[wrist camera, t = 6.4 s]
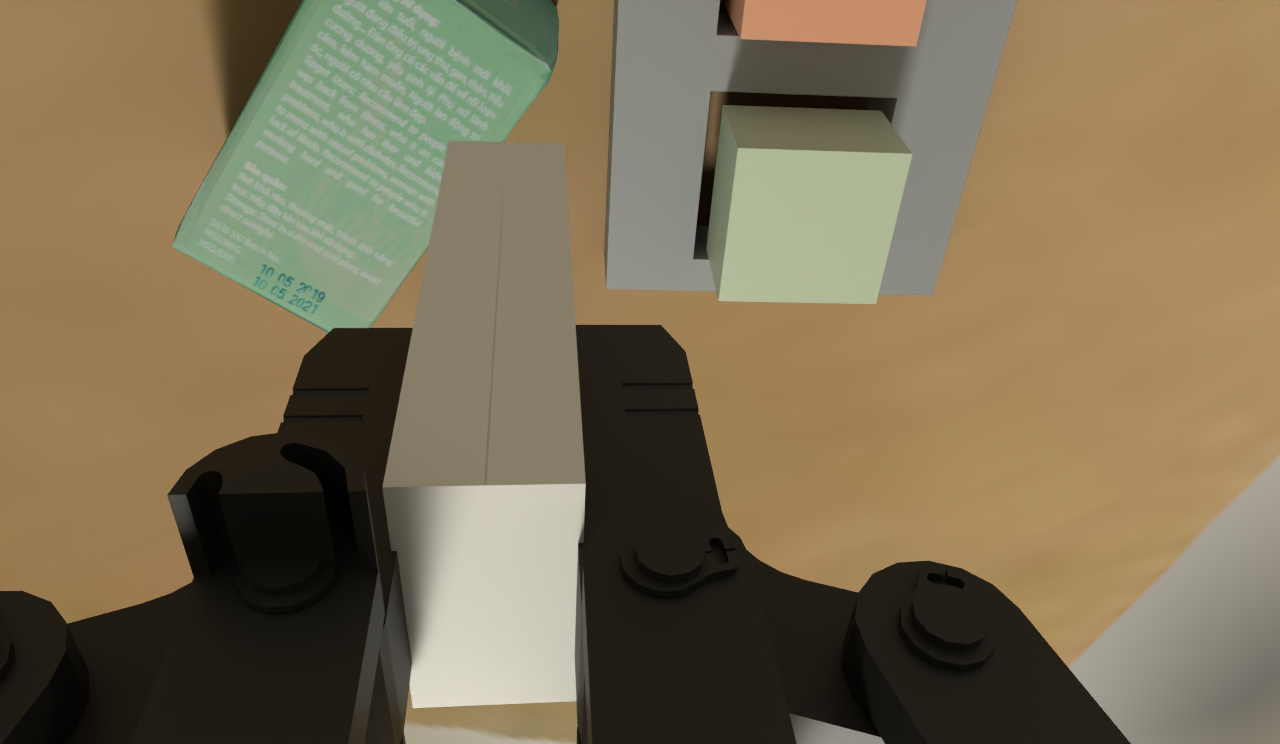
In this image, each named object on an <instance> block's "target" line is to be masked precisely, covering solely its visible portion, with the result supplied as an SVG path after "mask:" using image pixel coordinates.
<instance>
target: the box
mask: <svg viewBox="0 0 1280 744" xmlns="http://www.w3.org/2000/svg"><path fill="white" fill-rule="evenodd" d="M558 31H559V18H558V14H557V8H556V7H555V5H554V3H553V2H552V1H551V0H302V2H301V4H300V5H299V7H298V9H297V11H296V13H295V15H294V16H293V18H292V20H291V22H290V24H289V26H288V27H287V29H286V31H285V33H284V35H283V36H282V38H281V40H280V42H279V44H278V46H277V47H276V49H275V51H274V53H273V55H272V57H271V59H270V60H269V62H268V64H267V66H266V68H265V70H264V71H263V73H262V75H261V77H260V79H259V81H258V82H257V84H256V86H255V88H254V90H253V92H252V93H251V95H250V97H249V99H248V101H247V103H246V104H245V106H244V108H243V110H242V112H241V114H240V115H239V117H238V119H237V121H236V123H235V125H234V126H233V128H232V130H231V132H230V134H229V136H228V137H227V139H226V141H225V143H224V145H223V146H222V148H221V150H220V152H219V154H218V155H217V157H216V159H215V161H214V163H213V164H212V166H211V168H210V170H209V172H208V173H207V175H206V177H205V179H204V181H203V182H202V184H201V186H200V188H199V190H198V192H197V193H196V195H195V197H194V199H193V201H192V202H191V204H190V206H189V208H188V210H187V212H186V214H185V215H184V217H183V219H182V221H181V223H180V225H179V227H178V230H177V232H176V235H175V240H174V243H173V246H172V248H174V249H176V250H178V251H180V252H182V253H183V254H185V255H187V256H189V257H191V258H193V259H194V260H196V261H198V262H200V263H202V264H204V265H205V266H207V267H209V268H211V269H213V270H214V271H216V272H218V273H220V274H222V275H224V276H225V277H227V278H229V279H231V280H233V281H234V282H236V283H238V284H240V285H242V286H244V287H245V288H247V289H249V290H251V291H253V292H254V293H256V294H258V295H260V296H262V297H264V298H265V299H267V300H269V301H271V302H273V303H275V304H276V305H278V306H280V307H282V308H284V309H285V310H287V311H289V312H291V313H293V314H295V315H296V316H298V317H300V318H302V319H304V320H305V321H307V322H309V323H311V324H313V325H315V326H316V327H318V328H320V329H322V330H324V331H325V332H327V333H329V332H330V331H331V330H332V329H333V328H370V327H371V326H372V325H373V323H374V322H375V321H376V320H377V318H378V317H379V315H380V314H381V313H382V311H383V310H384V308H385V307H386V306H387V304H388V303H389V301H390V300H391V298H392V297H393V296H394V294H395V293H396V291H397V290H398V289H399V287H400V286H401V284H402V283H403V282H404V280H405V279H406V277H407V276H408V275H409V273H410V272H411V270H412V269H413V268H414V266H415V265H416V263H417V262H418V261H419V259H420V258H421V256H422V255H423V254H424V252H425V251H426V249H427V248H428V246H429V241H430V236H431V231H432V225H433V220H434V215H435V210H436V205H437V199H438V194H439V189H440V184H441V178H442V173H443V168H444V163H445V157H446V152H447V147H448V142H449V141H488V142H504V140H505V139H506V137H507V136H508V135H509V133H510V132H511V131H512V129H513V128H514V126H515V125H516V124H517V122H518V121H519V120H520V118H521V117H522V115H523V114H524V113H525V111H526V110H527V109H528V107H529V106H530V105H531V103H532V102H533V100H534V99H535V98H536V96H537V95H538V94H539V93H540V92H541V91H542V89H543V88H544V87H545V86H546V85H547V84H548V82H549V80H550V78H551V75H552V72H553V69H554V66H555V63H556V59H557V54H558Z"/></svg>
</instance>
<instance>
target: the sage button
mask: <svg viewBox="0 0 1280 744" xmlns="http://www.w3.org/2000/svg"><path fill="white" fill-rule="evenodd" d="M911 158H912V152H911V151H910V150H909V148H908V147H907V145H906V144H905V143H904V141H903V140H902V139H901V137H900V136H899V134H898V133H897V132H896V130H895V129H894V128H893V126H892V125H891V123H890V122H889V121H888V119H887V118H886V117H885V115H884V114H883V112H882V111H874V110H847V109H820V108H792V107H765V106H738V105H722V114H721V123H720V132H719V141H718V150H717V158H716V167H715V176H714V185H713V194H712V203H711V211H710V220H709V229H708V238H707V247H706V250H707V254H708V258H709V263H710V267H711V271H712V275H713V279H714V284H715V288H716V292H717V296H718V301H750V302H801V303H852V304H876V302H877V298H878V294H879V289H880V285H881V281H882V277H883V273H884V269H885V265H886V261H887V257H888V253H889V248H890V244H891V240H892V236H893V232H894V228H895V224H896V220H897V216H898V212H899V208H900V203H901V199H902V195H903V191H904V187H905V183H906V179H907V175H908V171H909V167H910V163H911Z"/></svg>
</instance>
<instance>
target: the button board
mask: <svg viewBox="0 0 1280 744" xmlns="http://www.w3.org/2000/svg"><path fill="white" fill-rule="evenodd" d="M1016 3H1017V0H927V2H926V6H925V10H924V15H923V19H922V23H921V28H920V32H919V36H918V41H917V45H916V46H892V45H869V44H845V43H822V42H798V41H775V40H751V39H740V37H739V35H738V33H737V31H736V29H735V26H734V24H733V22H732V20H731V18H730V16H729V14H728V12H719V5H720V0H615V1H614V25H613V50H612V75H611V99H610V124H609V149H608V174H607V198H606V223H605V248H604V258H605V277H606V289H629V290H678V291H716V288H715V284H714V279H713V275H712V271H711V267H710V263H709V258H708V254H707V250H706V247H707V238H708V229H709V226H696V225H697V216H698V206H699V197H700V187H701V177H702V168H703V158H704V149H705V139H706V130H707V120H708V110H709V101H710V91H721V92H748V93H774V94H801V95H827V96H853V97H871V99H870V103H869V108H868V110H874V111H882V112H883V114H884V115H885V117H886V118H887V119H888V121H889V122H890V123H891V125H892V126H893V128H894V129H895V130H896V132H897V133H898V134H899V136H900V137H901V139H902V140H903V141H904V143H905V144H906V145H907V147H908V148H909V150H910V151H911V152H912V158H911V163H910V167H909V171H908V175H907V179H906V183H905V187H904V191H903V195H902V199H901V203H900V208H899V212H898V216H897V220H896V224H895V228H894V232H893V236H892V240H891V244H890V248H889V253H888V257H887V261H886V265H885V269H884V273H883V277H882V281H881V285H880V289H879V294H878V295H923V296H933V294H934V291H935V287H936V284H937V280H938V277H939V273H940V270H941V266H942V263H943V259H944V256H945V252H946V249H947V245H948V242H949V238H950V234H951V231H952V227H953V224H954V220H955V217H956V213H957V210H958V206H959V203H960V199H961V196H962V192H963V189H964V185H965V182H966V178H967V175H968V171H969V168H970V164H971V161H972V157H973V154H974V150H975V147H976V143H977V140H978V136H979V133H980V129H981V126H982V122H983V119H984V115H985V112H986V108H987V105H988V101H989V98H990V94H991V91H992V87H993V84H994V80H995V77H996V73H997V70H998V66H999V63H1000V59H1001V56H1002V52H1003V49H1004V45H1005V42H1006V38H1007V35H1008V31H1009V28H1010V24H1011V21H1012V17H1013V13H1014V10H1015V6H1016Z"/></svg>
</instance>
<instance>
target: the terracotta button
mask: <svg viewBox="0 0 1280 744" xmlns="http://www.w3.org/2000/svg"><path fill="white" fill-rule="evenodd" d="M926 2H927V0H725V8H726V10H727V12H728V14H729V16H730V18H731V20H732V22H733V24H734V26H735V29H736V31H737V33H738V35H739V37H740V39H751V40H775V41H798V42H822V43H845V44H869V45H892V46H916V45H917V41H918V36H919V32H920V28H921V23H922V19H923V15H924V10H925V6H926Z"/></svg>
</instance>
